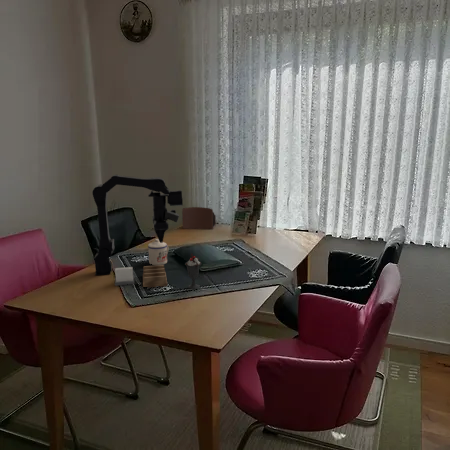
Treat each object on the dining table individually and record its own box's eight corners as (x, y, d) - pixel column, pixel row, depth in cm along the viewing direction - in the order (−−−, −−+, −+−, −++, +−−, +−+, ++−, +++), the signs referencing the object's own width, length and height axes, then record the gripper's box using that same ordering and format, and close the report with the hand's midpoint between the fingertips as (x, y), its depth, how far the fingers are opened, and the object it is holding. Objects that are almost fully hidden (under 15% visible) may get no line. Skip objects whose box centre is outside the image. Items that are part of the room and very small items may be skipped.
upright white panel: (116, 284, 179) (115, 270, 177) (116, 282, 181) (115, 268, 180) (133, 283, 180) (132, 268, 179) (133, 281, 182) (132, 266, 181)
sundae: (189, 291, 171) (188, 255, 167) (183, 285, 177) (181, 251, 173) (204, 288, 174) (203, 252, 170) (197, 282, 180) (196, 248, 176)
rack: (143, 287, 175) (142, 278, 174) (142, 275, 189) (142, 266, 188) (167, 285, 177) (167, 276, 176) (165, 273, 191) (165, 264, 190)
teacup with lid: (159, 266, 200) (157, 243, 197) (144, 263, 205) (143, 240, 202) (175, 259, 210) (174, 237, 207) (161, 257, 215) (160, 234, 212)
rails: (114, 285, 178) (114, 282, 177) (115, 281, 182) (115, 279, 182) (134, 284, 179) (134, 281, 179) (134, 280, 184) (134, 277, 183)
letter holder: (213, 229, 269) (212, 207, 265) (182, 228, 272) (181, 207, 269) (215, 225, 278) (215, 204, 275) (186, 225, 281) (185, 204, 278)
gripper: (179, 209, 182) (180, 244, 186) (175, 201, 200) (176, 233, 204) (153, 210, 180) (154, 246, 184) (151, 202, 198) (153, 235, 202)
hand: (160, 239), depth 193 cm, fingers open, 9 cm apart
